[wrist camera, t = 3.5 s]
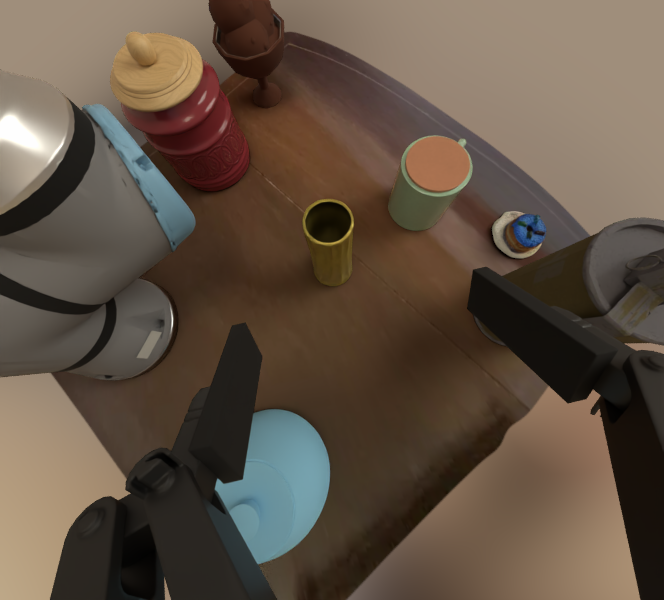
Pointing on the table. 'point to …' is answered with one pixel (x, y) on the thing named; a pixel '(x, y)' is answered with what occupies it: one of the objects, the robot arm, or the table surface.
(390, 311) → the table surface
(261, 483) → the sugar bowl
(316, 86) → the table surface
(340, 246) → the vase
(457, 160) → the mug
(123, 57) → the kitchen canister
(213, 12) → the ice cream bowl
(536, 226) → the dessert
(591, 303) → the canister
